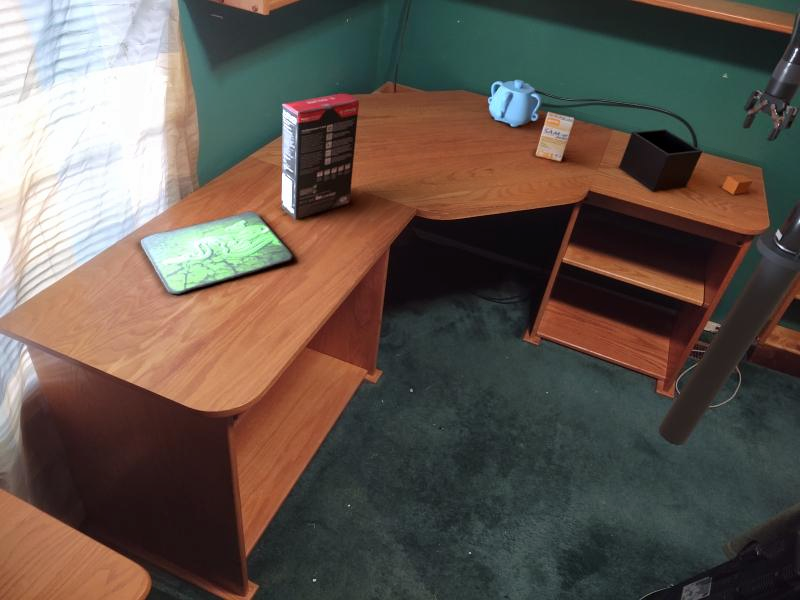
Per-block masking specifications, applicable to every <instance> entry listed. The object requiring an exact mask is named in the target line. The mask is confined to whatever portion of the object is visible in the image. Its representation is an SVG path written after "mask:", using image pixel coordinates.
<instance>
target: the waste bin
mask: <svg viewBox="0 0 800 600" xmlns="http://www.w3.org/2000/svg"><path fill="white" fill-rule="evenodd" d="M702 153H703V150H701V149H699V148H698V147H697V146H695V145H693V144H691V143H689V142H688V141H686V140H684V139H683V138H681V137H679V136H678V135H676V134H675V133H673V132H671V131H669V130H668V129H665V128H662V129H649V130H639V131H632V132H631V134H630V136H629V139H628V142H627V145H626V147H625V150H624V152H623V155H622V158H621V160H620V163H619V166H618V168H619V169H620V170H622V171H623V172H625V173H626V174H627V175H629V176H630V177H632V178H633V179H634V180H636V181H637V182H639V183H640V184H641V185H642V186H644V187H645V188H647V189H648V190H650V191H651V192H653V193H654V192H659V191H668V190H673V189H680V188H686V187H687V186H688V183H689V182H690V179H691V178H692V175H693V173H694V171H695V169H696V167H697V165H698V162H699V160H700V158H701V155H702Z"/></svg>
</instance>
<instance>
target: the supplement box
mask: <svg viewBox="0 0 800 600" xmlns="http://www.w3.org/2000/svg"><path fill="white" fill-rule="evenodd" d="M574 120H575V117H573V116H567V115H563V114H560V113H556V112H552V111H548V112H547V113H546V118H545V121H544V125H543V127H542V131H541V134H540V138H539V142H538V145H537V148H536V152H535V157H537V158H538V157H539V158H543V159H547V160H552V161H556V162H559V163H560V162H562V159H563V156H564V154H565V153H564V152H565V150H566V147H567V143H568V140H569V138H570V134H571V131H572V128H573V125H574Z"/></svg>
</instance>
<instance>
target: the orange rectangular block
mask: <svg viewBox="0 0 800 600" xmlns="http://www.w3.org/2000/svg"><path fill="white" fill-rule="evenodd" d="M752 183H753V180H752V179H750V178H748V177H747V176H746V175H743V174H742V173H741V174H740V173H739V174H734V175H728V176H726V178H725V181H724V183H723V185H722V187H721V188H722V189H723V190H725V191H726V192H728V193H729V194H731V195H739V194H745V193H748V190H749V189H750V187H751V185H752Z"/></svg>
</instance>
